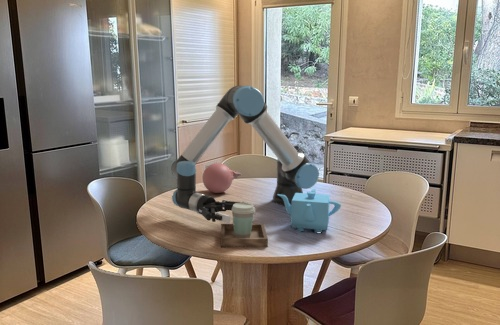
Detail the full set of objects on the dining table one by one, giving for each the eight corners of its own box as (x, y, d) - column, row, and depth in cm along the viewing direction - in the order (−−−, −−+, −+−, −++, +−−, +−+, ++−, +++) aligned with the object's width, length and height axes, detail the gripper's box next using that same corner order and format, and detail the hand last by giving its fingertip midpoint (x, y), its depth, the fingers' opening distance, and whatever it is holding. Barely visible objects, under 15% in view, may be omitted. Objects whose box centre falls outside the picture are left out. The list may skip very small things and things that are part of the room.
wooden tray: (263, 230, 170) (263, 223, 169) (267, 246, 154) (267, 238, 153) (221, 231, 169) (221, 223, 168) (221, 247, 153) (221, 239, 152)
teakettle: (343, 231, 171) (345, 194, 168) (305, 239, 161) (307, 201, 158) (311, 218, 187) (312, 184, 184) (275, 225, 177) (276, 190, 174)
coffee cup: (258, 236, 161) (259, 205, 159) (242, 242, 155) (243, 210, 153) (242, 230, 167) (243, 200, 165) (226, 236, 161) (226, 205, 159)
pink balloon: (242, 196, 219) (242, 166, 216) (201, 196, 218) (201, 166, 215) (240, 188, 234) (241, 160, 231) (203, 188, 233) (203, 160, 230)
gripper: (224, 206, 183) (264, 217, 170) (178, 220, 165) (218, 234, 151) (224, 189, 182) (264, 198, 168) (178, 201, 164) (218, 213, 150)
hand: (242, 215), depth 160 cm, fingers open, 13 cm apart
